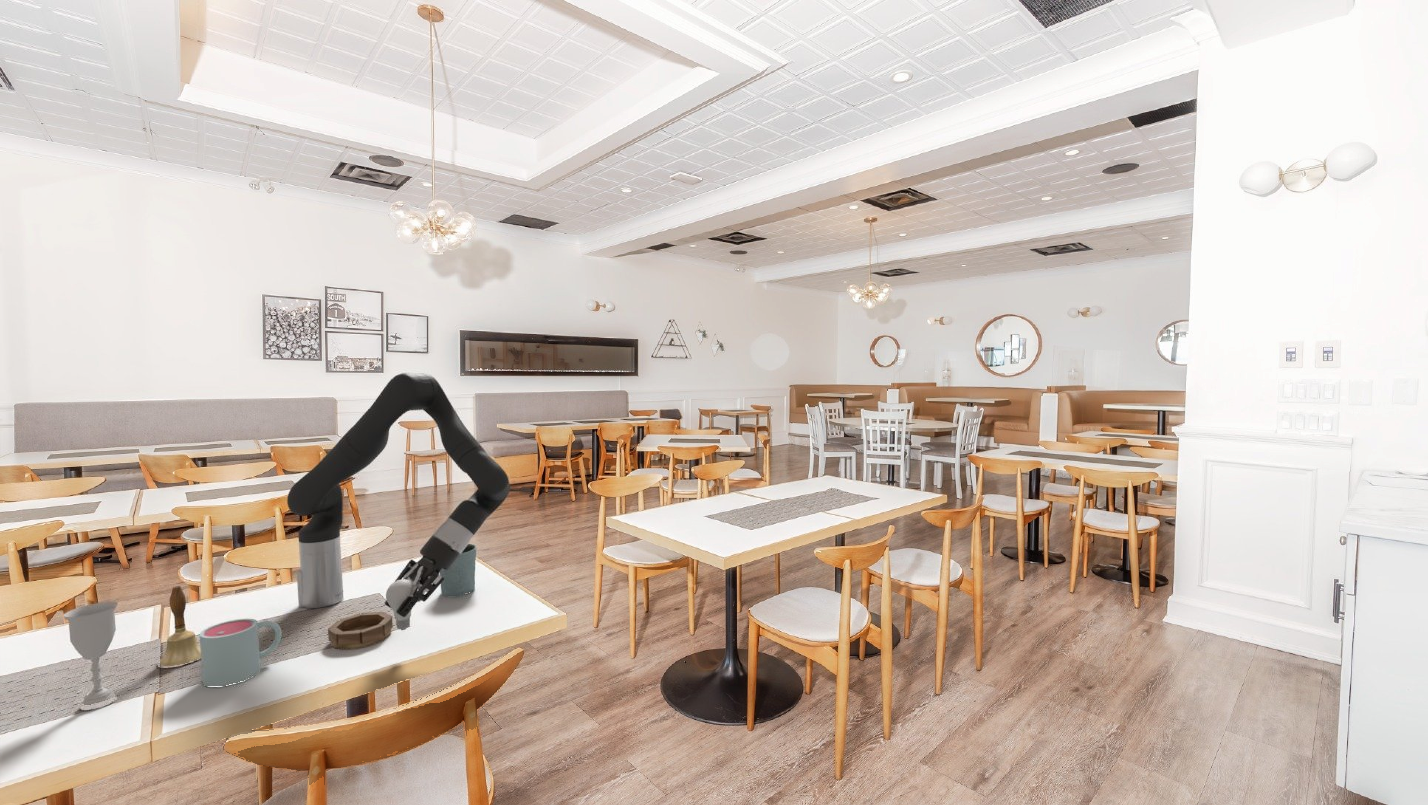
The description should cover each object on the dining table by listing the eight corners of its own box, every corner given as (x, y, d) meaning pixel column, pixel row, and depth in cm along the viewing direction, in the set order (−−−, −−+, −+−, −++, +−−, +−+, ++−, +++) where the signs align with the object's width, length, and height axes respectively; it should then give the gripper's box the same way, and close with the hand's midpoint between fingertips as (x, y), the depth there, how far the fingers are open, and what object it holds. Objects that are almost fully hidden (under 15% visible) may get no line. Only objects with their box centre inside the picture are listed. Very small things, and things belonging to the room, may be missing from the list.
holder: (320, 651, 134) (319, 635, 134) (345, 628, 146) (345, 614, 146) (378, 647, 136) (377, 631, 136) (399, 624, 148) (398, 610, 147)
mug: (214, 692, 118) (210, 642, 117) (195, 680, 123) (191, 631, 122) (293, 662, 129) (290, 616, 129) (273, 652, 134) (270, 607, 134)
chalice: (97, 694, 118) (89, 602, 117) (135, 691, 118) (128, 600, 117) (60, 715, 111) (51, 618, 110) (100, 713, 111) (93, 616, 110)
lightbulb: (406, 637, 129) (403, 586, 128) (380, 634, 130) (378, 584, 130) (425, 624, 135) (423, 576, 134) (401, 622, 136) (398, 574, 136)
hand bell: (151, 672, 126) (145, 596, 125) (164, 656, 134) (159, 584, 133) (202, 663, 130) (197, 589, 129) (212, 647, 137) (207, 577, 136)
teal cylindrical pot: (465, 582, 177) (463, 541, 176) (485, 589, 171) (484, 546, 170) (431, 593, 168) (429, 550, 168) (451, 601, 162) (449, 556, 162)
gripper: (421, 528, 142) (367, 593, 134) (449, 540, 132) (393, 611, 124) (445, 546, 146) (394, 609, 138) (473, 559, 136) (421, 628, 128)
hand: (394, 610), depth 131 cm, fingers closed on lightbulb, 6 cm apart
